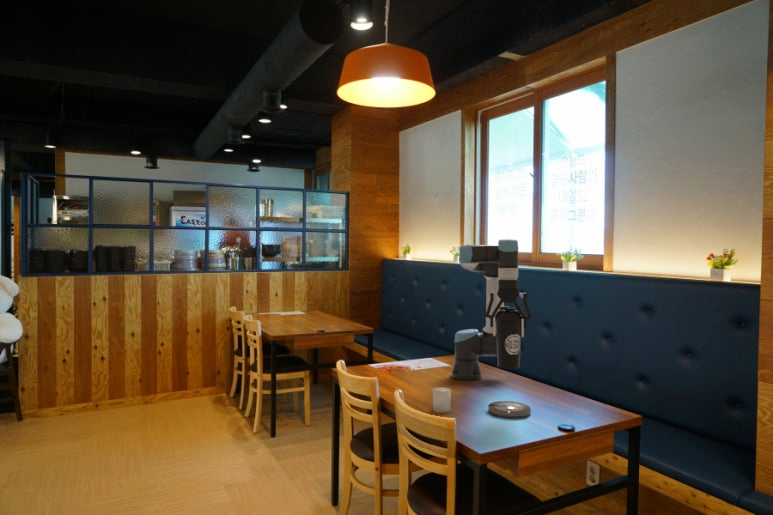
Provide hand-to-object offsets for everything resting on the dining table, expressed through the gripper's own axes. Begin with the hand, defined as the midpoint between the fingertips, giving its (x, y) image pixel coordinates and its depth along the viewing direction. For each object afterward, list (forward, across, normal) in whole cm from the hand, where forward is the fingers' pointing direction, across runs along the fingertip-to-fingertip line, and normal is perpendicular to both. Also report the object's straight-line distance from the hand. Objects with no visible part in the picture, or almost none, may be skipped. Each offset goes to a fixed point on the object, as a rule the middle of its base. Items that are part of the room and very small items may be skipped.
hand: (508, 336), depth 201 cm
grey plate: (+30, 0, 0) cm, 30 cm away
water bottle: (+12, 0, 0) cm, 12 cm away
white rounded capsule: (+30, -26, -3) cm, 40 cm away
